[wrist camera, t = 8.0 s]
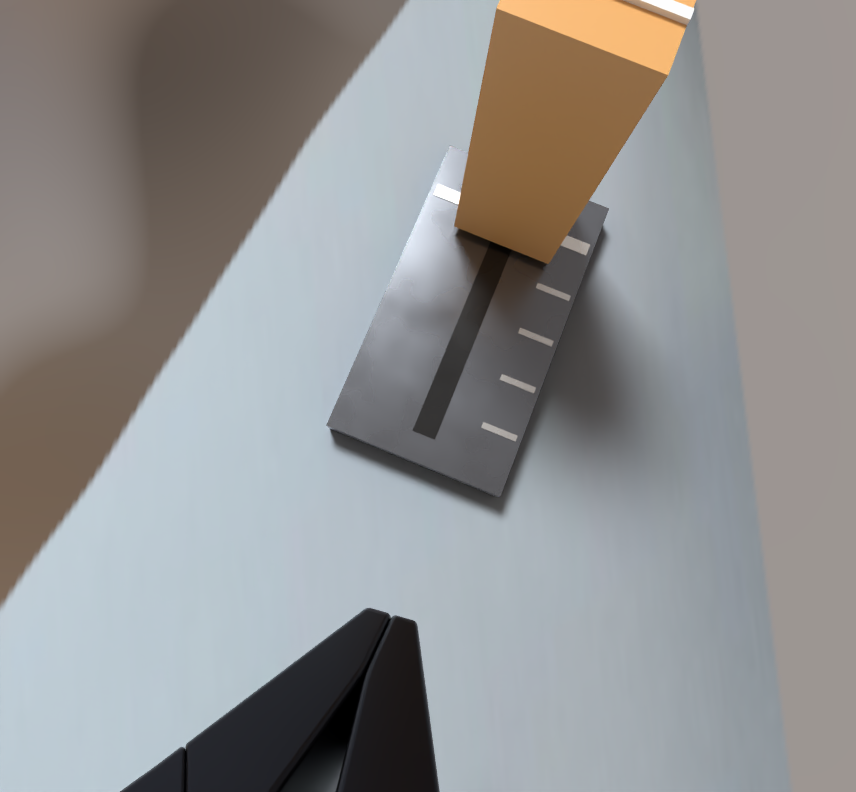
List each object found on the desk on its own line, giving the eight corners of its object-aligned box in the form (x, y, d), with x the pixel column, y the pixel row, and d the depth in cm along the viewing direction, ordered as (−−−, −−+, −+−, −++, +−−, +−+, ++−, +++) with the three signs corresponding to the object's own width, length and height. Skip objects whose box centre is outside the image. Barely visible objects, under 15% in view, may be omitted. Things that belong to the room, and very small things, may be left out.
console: (496, 496, 23) (500, 496, 22) (329, 428, 23) (326, 425, 22) (600, 220, 25) (609, 208, 24) (448, 159, 25) (449, 144, 24)
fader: (548, 264, 23) (671, 70, 13) (454, 226, 23) (497, 1, 13) (573, 199, 24) (712, -40, 13) (481, 162, 24) (545, -105, 13)
